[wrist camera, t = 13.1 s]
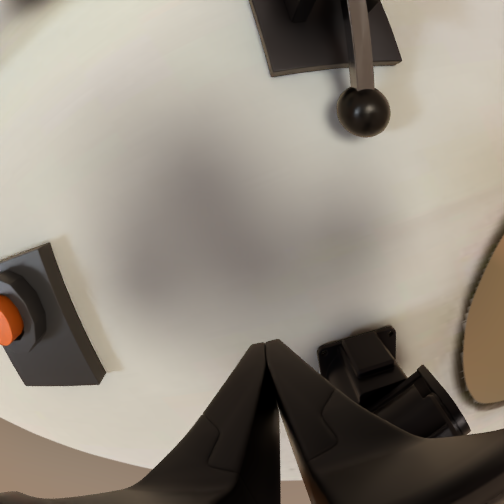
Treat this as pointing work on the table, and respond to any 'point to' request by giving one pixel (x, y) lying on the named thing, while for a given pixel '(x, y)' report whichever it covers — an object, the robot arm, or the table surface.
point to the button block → (46, 324)
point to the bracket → (316, 35)
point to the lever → (361, 77)
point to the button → (9, 321)
